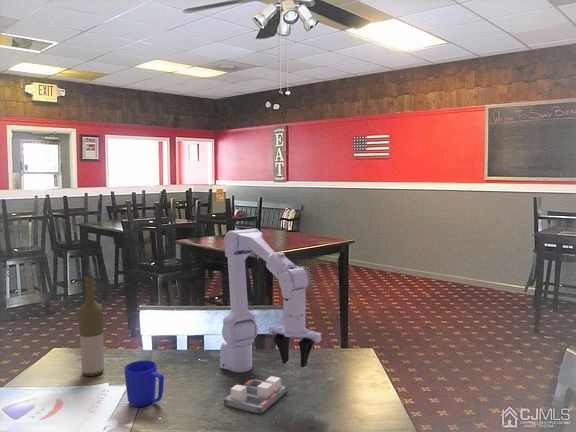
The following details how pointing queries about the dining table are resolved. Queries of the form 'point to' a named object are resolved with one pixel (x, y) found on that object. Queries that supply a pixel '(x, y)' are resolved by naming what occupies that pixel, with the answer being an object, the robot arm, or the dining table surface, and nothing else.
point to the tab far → (274, 382)
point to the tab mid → (264, 390)
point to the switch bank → (255, 398)
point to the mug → (142, 383)
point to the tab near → (239, 393)
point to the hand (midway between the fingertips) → (294, 364)
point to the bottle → (91, 332)
